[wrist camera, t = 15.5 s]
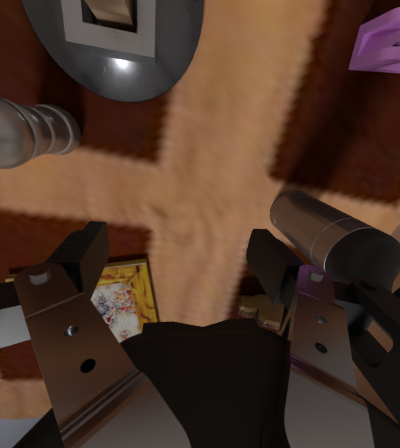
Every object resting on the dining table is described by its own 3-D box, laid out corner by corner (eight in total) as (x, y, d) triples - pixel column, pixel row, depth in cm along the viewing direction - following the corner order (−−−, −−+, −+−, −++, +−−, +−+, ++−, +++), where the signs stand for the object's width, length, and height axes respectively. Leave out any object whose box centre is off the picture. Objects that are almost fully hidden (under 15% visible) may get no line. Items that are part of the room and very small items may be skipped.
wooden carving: (230, 304, 55) (243, 339, 46) (234, 290, 53) (247, 324, 44) (286, 302, 58) (308, 335, 49) (291, 290, 56) (315, 322, 47)
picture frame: (57, 369, 53) (4, 279, 40) (61, 361, 55) (11, 272, 42) (162, 351, 56) (145, 262, 43) (162, 344, 58) (146, 257, 45)
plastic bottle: (50, 154, 33) (-82, 190, 16) (30, 107, 30) (-162, 83, 13) (91, 150, 34) (8, 178, 16) (76, 102, 31) (-47, 73, 13)
